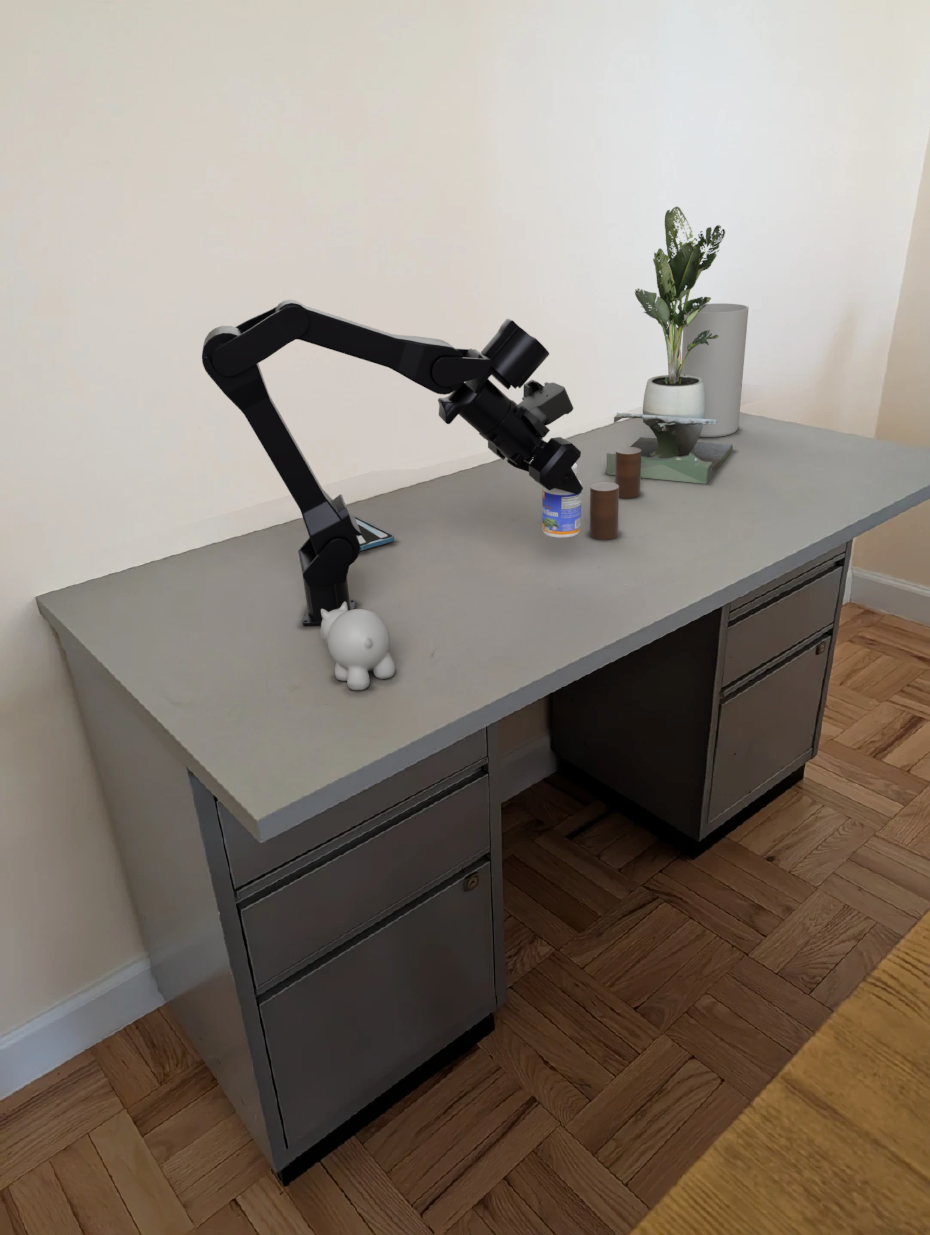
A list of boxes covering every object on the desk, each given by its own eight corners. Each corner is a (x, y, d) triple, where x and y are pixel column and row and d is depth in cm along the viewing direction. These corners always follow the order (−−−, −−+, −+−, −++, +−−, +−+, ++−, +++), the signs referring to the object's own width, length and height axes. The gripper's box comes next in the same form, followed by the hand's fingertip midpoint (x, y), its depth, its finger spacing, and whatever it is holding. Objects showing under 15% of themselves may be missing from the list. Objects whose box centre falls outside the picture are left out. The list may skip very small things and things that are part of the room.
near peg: (619, 539, 139) (621, 490, 136) (591, 540, 140) (592, 491, 136) (615, 529, 143) (616, 481, 140) (588, 530, 143) (588, 482, 140)
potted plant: (706, 484, 160) (725, 209, 140) (606, 474, 168) (610, 213, 148) (732, 450, 178) (752, 201, 157) (640, 443, 185) (648, 205, 165)
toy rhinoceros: (356, 641, 114) (349, 580, 110) (405, 678, 105) (398, 613, 101) (305, 659, 110) (295, 597, 106) (350, 699, 101) (342, 633, 97)
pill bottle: (535, 529, 127) (534, 462, 122) (568, 522, 129) (568, 456, 124) (554, 541, 122) (554, 473, 118) (588, 534, 124) (589, 466, 120)
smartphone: (352, 514, 154) (396, 536, 142) (352, 519, 154) (397, 541, 143) (313, 524, 150) (355, 548, 139) (314, 530, 151) (356, 553, 139)
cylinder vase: (701, 419, 199) (709, 302, 188) (750, 429, 190) (761, 306, 179) (665, 431, 192) (671, 310, 181) (714, 441, 183) (723, 314, 172)
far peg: (641, 498, 156) (643, 453, 152) (616, 499, 156) (617, 454, 152) (637, 489, 160) (639, 446, 156) (612, 491, 160) (613, 447, 156)
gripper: (566, 378, 106) (644, 456, 114) (506, 354, 122) (578, 424, 130) (506, 452, 107) (588, 524, 115) (454, 419, 123) (529, 484, 131)
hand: (571, 485), depth 123 cm, fingers closed on pill bottle, 5 cm apart
